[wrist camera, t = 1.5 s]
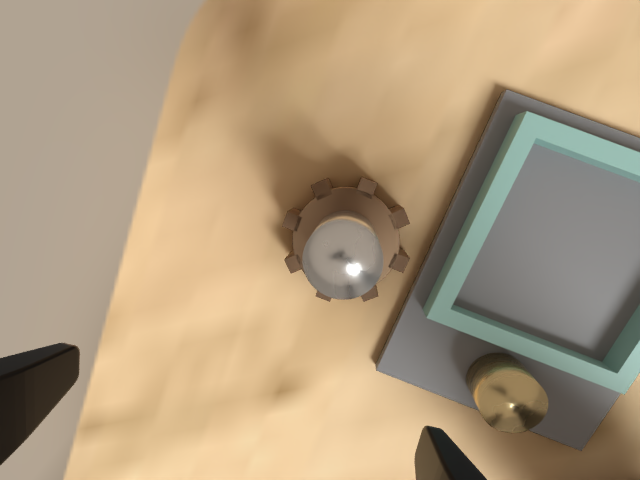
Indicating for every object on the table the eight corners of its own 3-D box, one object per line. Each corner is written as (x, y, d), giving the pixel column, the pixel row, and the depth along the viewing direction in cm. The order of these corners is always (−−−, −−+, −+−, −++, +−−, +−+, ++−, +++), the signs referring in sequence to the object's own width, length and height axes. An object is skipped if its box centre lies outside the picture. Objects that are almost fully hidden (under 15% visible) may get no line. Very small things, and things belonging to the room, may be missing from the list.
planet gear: (426, 201, 20) (455, 214, 14) (378, 307, 21) (387, 359, 15) (311, 157, 20) (292, 152, 14) (273, 266, 22) (242, 302, 16)
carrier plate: (750, 183, 18) (828, 185, 15) (575, 443, 22) (609, 485, 19) (501, 92, 18) (530, 76, 15) (375, 365, 22) (378, 394, 19)
